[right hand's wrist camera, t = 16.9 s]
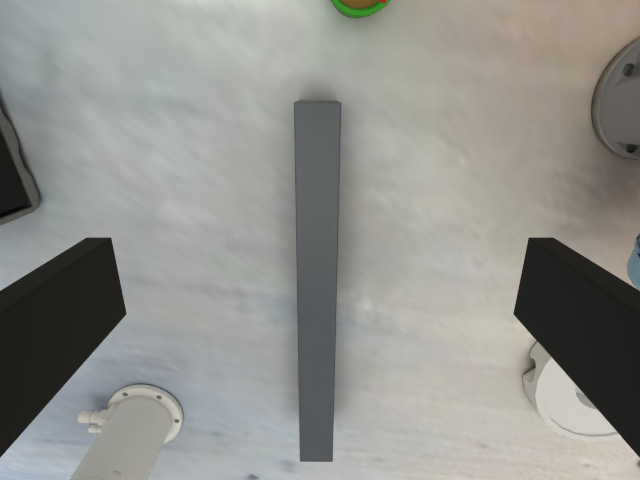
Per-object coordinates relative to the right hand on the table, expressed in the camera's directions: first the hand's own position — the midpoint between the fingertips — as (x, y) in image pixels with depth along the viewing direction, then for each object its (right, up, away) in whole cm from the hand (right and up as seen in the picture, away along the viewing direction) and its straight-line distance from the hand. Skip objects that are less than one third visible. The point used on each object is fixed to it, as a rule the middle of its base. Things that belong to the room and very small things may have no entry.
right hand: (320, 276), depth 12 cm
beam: (0, -5, +45) cm, 46 cm away
